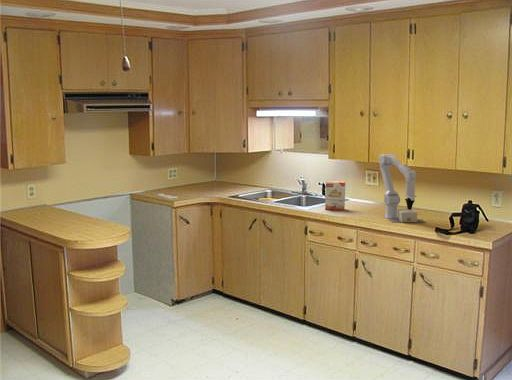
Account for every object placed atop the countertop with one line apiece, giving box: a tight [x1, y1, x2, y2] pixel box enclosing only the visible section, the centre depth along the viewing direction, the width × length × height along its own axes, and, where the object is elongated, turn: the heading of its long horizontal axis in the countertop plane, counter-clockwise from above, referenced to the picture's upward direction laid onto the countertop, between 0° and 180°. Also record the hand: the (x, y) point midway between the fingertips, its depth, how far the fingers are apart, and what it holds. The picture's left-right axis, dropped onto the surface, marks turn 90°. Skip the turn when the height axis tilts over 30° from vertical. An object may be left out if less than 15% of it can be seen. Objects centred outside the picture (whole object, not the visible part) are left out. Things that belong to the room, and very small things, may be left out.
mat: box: [389, 218, 426, 223], centre depth 369 cm, size 8×22×1 cm, turn 89°
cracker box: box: [324, 180, 346, 211], centre depth 408 cm, size 14×6×21 cm, turn 76°
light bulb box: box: [397, 208, 418, 223], centre depth 369 cm, size 11×7×11 cm
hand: (409, 209), depth 364 cm, fingers closed
